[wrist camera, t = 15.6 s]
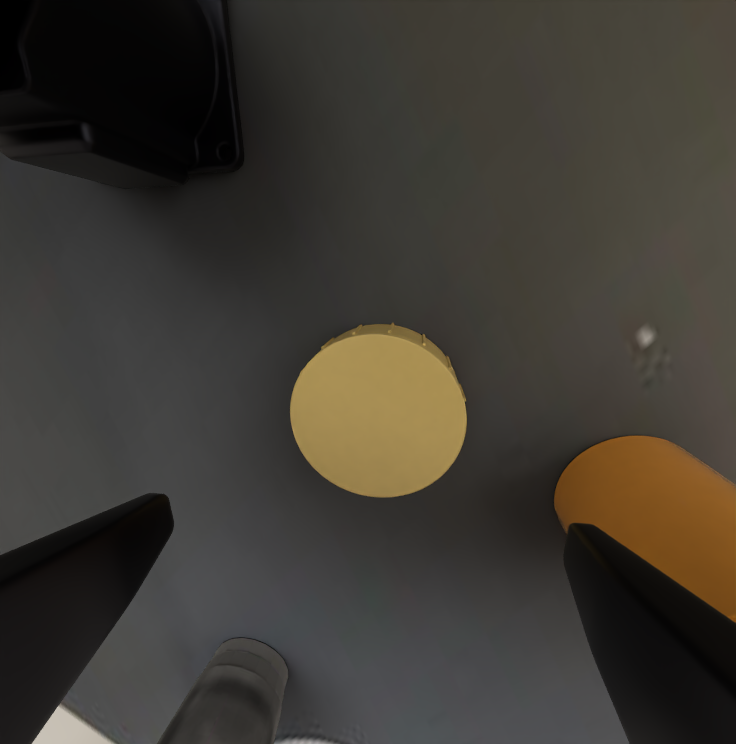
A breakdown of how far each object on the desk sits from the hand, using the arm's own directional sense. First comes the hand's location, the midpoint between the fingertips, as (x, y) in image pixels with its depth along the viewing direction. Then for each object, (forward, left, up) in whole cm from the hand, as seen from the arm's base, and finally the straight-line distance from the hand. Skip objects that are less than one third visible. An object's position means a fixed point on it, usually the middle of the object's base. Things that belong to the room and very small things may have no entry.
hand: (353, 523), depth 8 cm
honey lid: (0, 0, -5) cm, 5 cm away
